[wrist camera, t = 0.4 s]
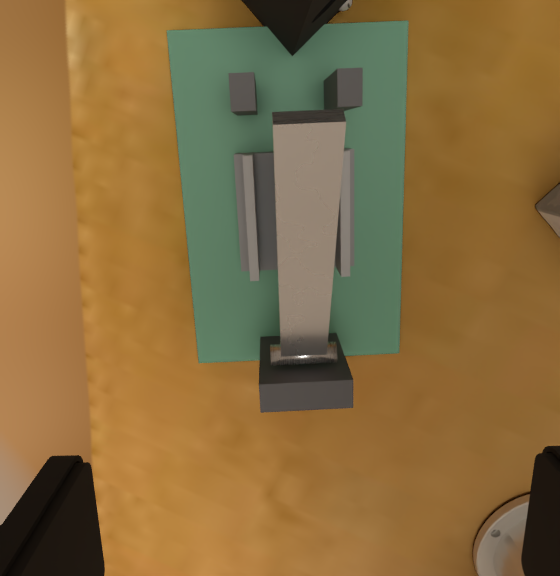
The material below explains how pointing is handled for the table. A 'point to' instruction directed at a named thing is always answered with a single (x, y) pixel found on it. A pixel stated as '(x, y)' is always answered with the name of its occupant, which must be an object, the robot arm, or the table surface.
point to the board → (216, 181)
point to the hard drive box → (551, 208)
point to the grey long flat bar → (306, 230)
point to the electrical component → (295, 18)
